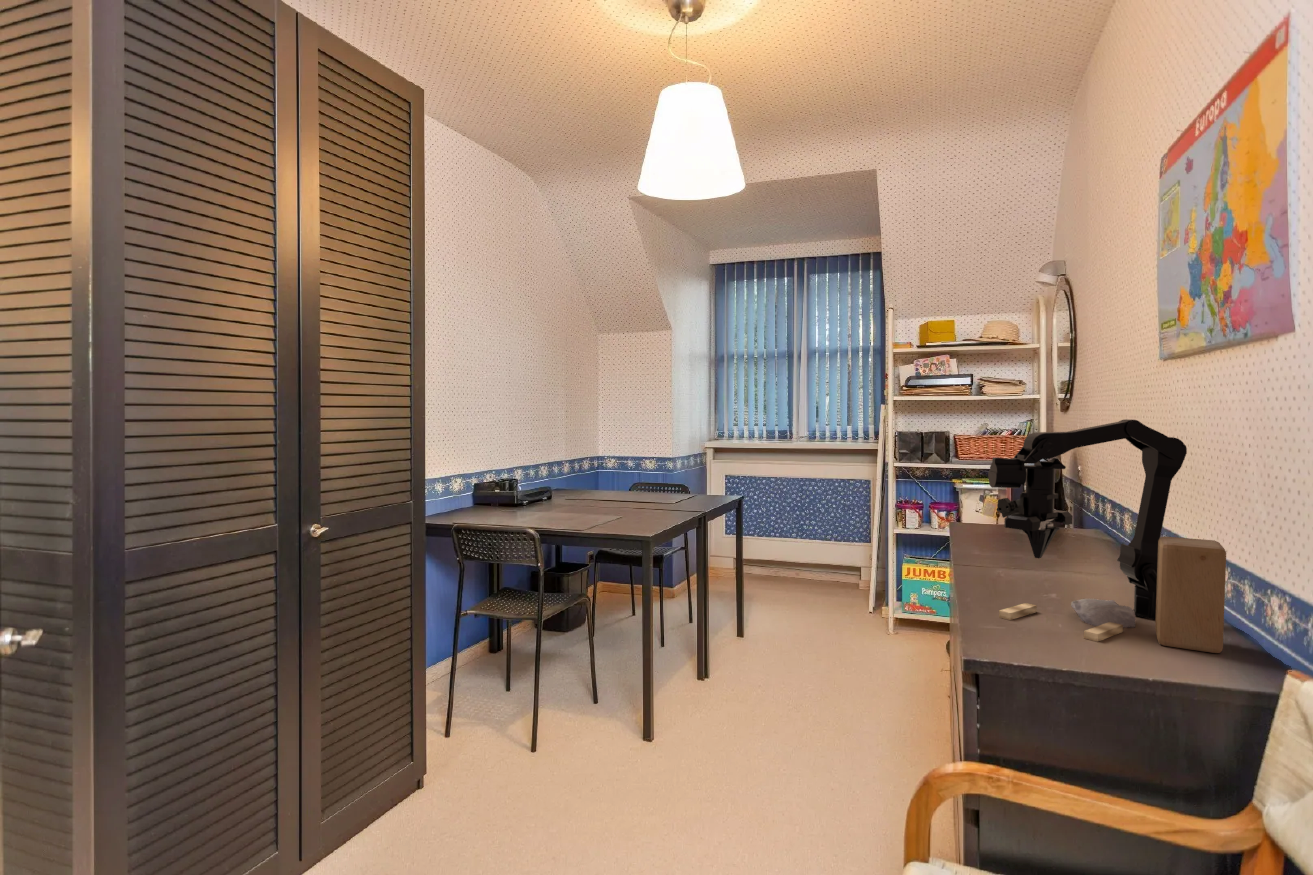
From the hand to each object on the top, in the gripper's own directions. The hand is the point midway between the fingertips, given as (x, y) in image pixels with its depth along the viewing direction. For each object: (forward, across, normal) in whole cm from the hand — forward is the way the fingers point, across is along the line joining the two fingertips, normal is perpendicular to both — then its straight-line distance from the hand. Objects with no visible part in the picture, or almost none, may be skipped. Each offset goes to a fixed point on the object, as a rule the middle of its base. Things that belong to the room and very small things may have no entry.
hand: (1037, 557), depth 163 cm
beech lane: (+12, +6, +8) cm, 16 cm away
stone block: (+12, -5, +11) cm, 17 cm away
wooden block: (+12, -1, +28) cm, 31 cm away
